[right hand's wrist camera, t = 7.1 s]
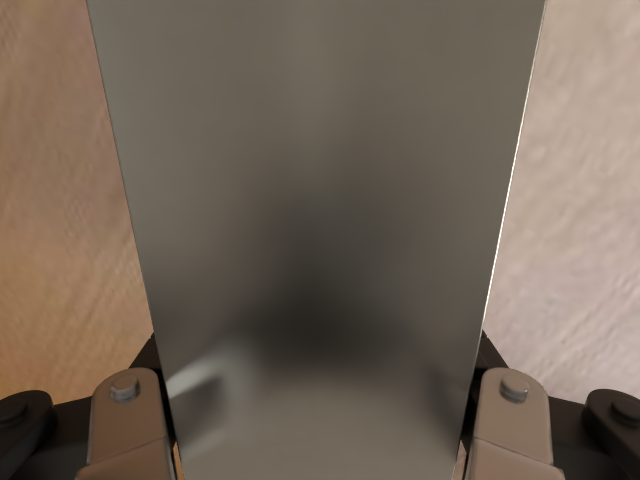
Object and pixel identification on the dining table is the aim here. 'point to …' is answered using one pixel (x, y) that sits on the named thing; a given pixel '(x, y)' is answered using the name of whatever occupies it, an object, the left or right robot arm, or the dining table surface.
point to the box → (317, 218)
